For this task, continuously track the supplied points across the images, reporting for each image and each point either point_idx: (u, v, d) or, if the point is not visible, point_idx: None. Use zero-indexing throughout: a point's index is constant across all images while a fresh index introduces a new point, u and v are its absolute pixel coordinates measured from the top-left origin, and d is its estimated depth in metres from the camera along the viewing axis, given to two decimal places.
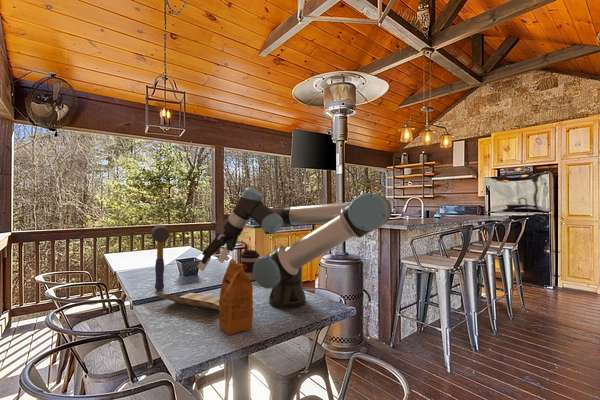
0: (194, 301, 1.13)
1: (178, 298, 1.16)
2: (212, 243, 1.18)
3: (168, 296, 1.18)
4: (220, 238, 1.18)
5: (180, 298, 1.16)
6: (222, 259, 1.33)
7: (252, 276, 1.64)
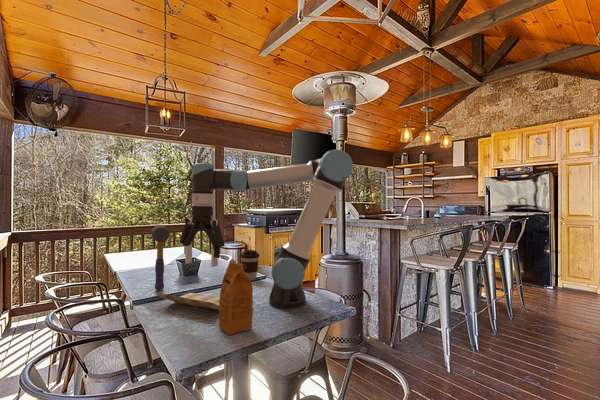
0: (194, 301, 1.13)
1: (178, 298, 1.16)
2: (217, 232, 1.11)
3: (168, 296, 1.18)
4: (218, 222, 1.12)
5: (180, 298, 1.16)
6: (190, 258, 1.17)
7: (252, 276, 1.64)
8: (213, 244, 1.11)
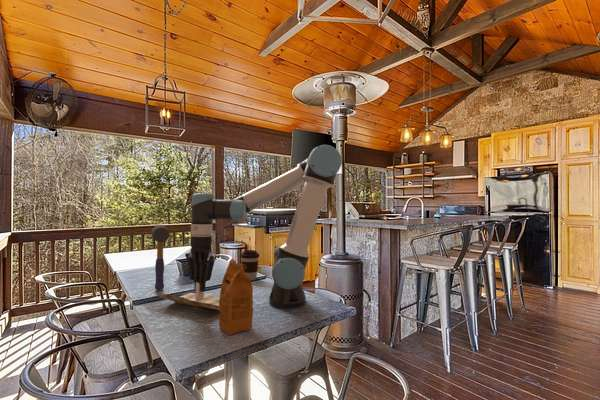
0: (193, 302, 1.13)
1: (178, 298, 1.16)
2: (209, 267, 1.12)
3: (168, 296, 1.18)
4: (215, 259, 1.12)
5: (180, 298, 1.16)
6: None
7: (252, 276, 1.64)
8: (200, 278, 1.12)
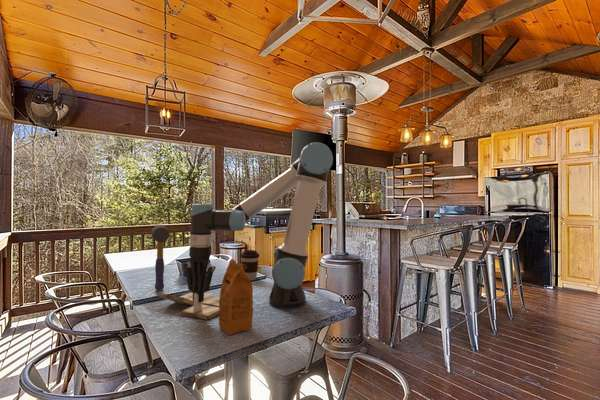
0: (191, 314, 1.11)
1: (178, 298, 1.16)
2: (208, 278, 1.11)
3: (168, 296, 1.18)
4: (213, 269, 1.12)
5: (180, 298, 1.16)
6: None
7: (252, 276, 1.64)
8: (199, 289, 1.12)
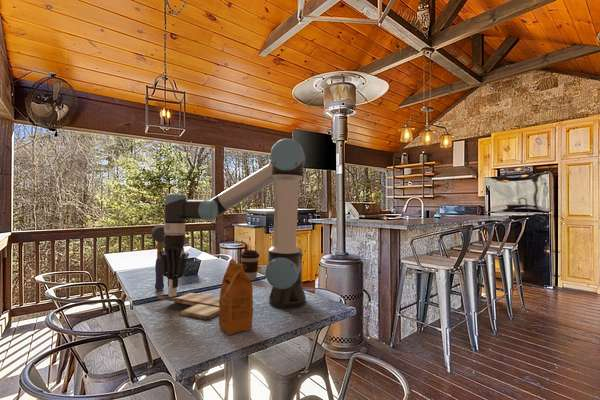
0: (191, 314, 1.11)
1: (177, 300, 1.16)
2: (182, 265, 1.17)
3: (167, 298, 1.18)
4: (187, 256, 1.17)
5: (179, 300, 1.15)
6: None
7: (252, 276, 1.64)
8: (173, 275, 1.17)
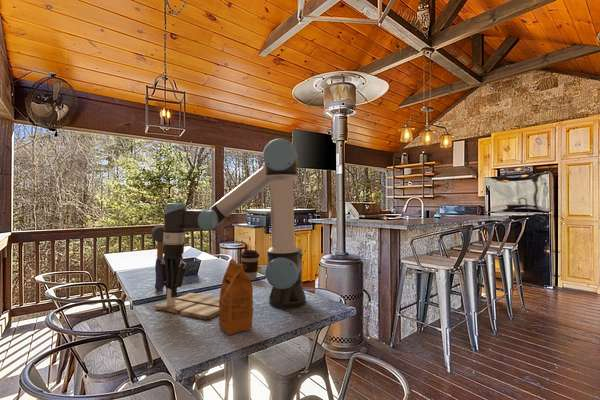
0: (191, 314, 1.11)
1: (175, 311, 1.14)
2: (180, 274, 1.16)
3: (165, 309, 1.16)
4: (186, 266, 1.17)
5: (177, 311, 1.14)
6: None
7: (252, 276, 1.64)
8: (172, 284, 1.17)
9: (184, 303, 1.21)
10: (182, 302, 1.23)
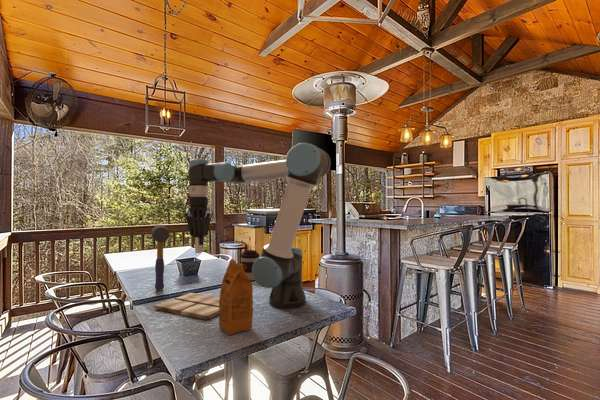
0: (191, 314, 1.11)
1: (175, 311, 1.14)
2: (207, 223, 1.28)
3: (165, 309, 1.16)
4: (211, 215, 1.29)
5: (177, 311, 1.14)
6: None
7: (252, 276, 1.64)
8: (199, 233, 1.29)
9: (184, 303, 1.21)
10: (182, 302, 1.23)
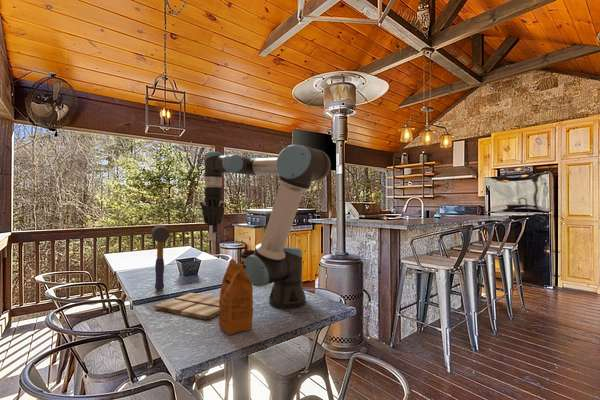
0: (191, 314, 1.11)
1: (175, 311, 1.14)
2: (220, 212, 1.36)
3: (165, 309, 1.16)
4: (224, 205, 1.37)
5: (177, 311, 1.14)
6: None
7: None
8: (213, 221, 1.37)
9: (184, 303, 1.21)
10: (182, 302, 1.23)
